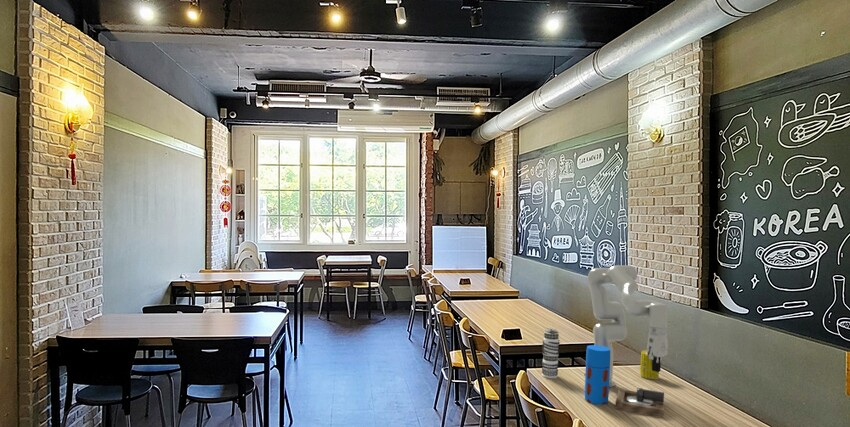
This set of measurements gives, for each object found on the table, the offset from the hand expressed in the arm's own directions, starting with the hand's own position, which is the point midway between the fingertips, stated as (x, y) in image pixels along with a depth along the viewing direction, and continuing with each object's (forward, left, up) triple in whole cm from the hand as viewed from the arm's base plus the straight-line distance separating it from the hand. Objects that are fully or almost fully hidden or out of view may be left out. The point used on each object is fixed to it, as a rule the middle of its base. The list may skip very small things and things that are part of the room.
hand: (656, 370), depth 244 cm
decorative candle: (-52, +28, -19) cm, 62 cm away
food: (-3, +53, -19) cm, 56 cm away
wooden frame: (-6, +4, -18) cm, 20 cm away
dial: (-4, +4, -17) cm, 18 cm away
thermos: (-25, +1, -19) cm, 31 cm away
